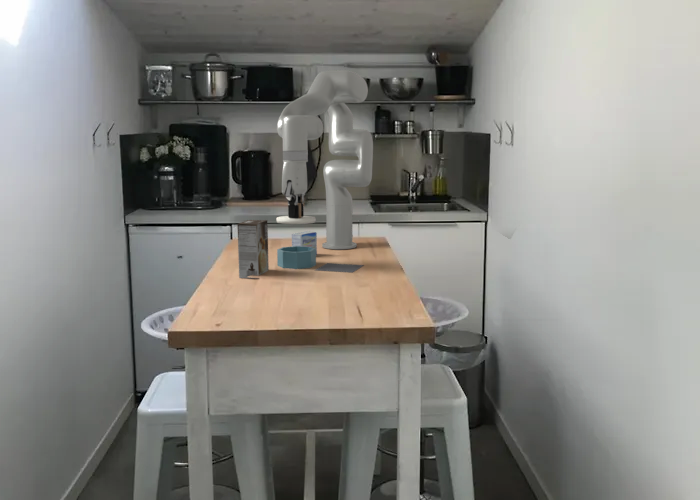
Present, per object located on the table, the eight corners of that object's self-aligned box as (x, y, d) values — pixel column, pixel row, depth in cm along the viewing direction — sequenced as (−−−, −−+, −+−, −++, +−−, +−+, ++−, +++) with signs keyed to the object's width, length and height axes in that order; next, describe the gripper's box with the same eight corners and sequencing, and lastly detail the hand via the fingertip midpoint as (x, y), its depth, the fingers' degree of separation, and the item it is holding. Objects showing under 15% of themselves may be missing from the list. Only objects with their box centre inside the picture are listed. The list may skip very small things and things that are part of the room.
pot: (287, 264, 231) (286, 245, 230) (319, 266, 228) (319, 247, 227) (273, 270, 221) (272, 251, 220) (307, 272, 217) (306, 253, 216)
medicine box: (301, 260, 237) (301, 234, 236) (291, 259, 240) (291, 233, 238) (317, 257, 243) (317, 231, 242) (307, 256, 246) (306, 230, 244)
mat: (327, 266, 227) (327, 263, 227) (364, 268, 224) (364, 265, 224) (314, 273, 216) (314, 270, 216) (352, 275, 213) (352, 272, 212)
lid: (285, 218, 229) (285, 201, 228) (321, 220, 226) (321, 202, 225) (270, 223, 218) (269, 204, 217) (307, 224, 214) (307, 206, 213)
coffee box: (249, 272, 219) (247, 219, 216) (269, 272, 217) (268, 219, 215) (238, 278, 210) (236, 223, 207) (259, 279, 208) (258, 224, 206)
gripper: (293, 155, 227) (294, 214, 230) (272, 157, 212) (274, 220, 215) (316, 156, 225) (316, 214, 228) (296, 158, 210) (297, 221, 213)
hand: (296, 216), depth 221 cm, fingers closed on lid, 3 cm apart
